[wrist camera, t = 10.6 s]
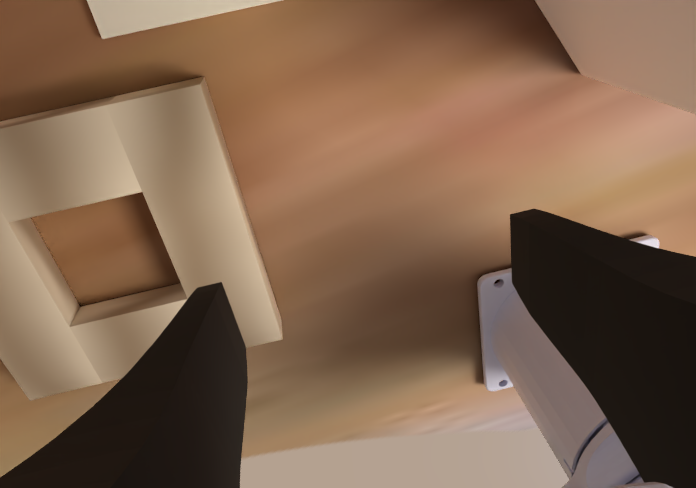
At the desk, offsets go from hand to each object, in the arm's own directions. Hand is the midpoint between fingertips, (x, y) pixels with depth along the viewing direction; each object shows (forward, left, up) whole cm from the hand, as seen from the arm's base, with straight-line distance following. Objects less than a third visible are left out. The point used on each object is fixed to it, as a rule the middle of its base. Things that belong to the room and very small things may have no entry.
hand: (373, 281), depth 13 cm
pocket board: (+10, +2, -10) cm, 15 cm away
